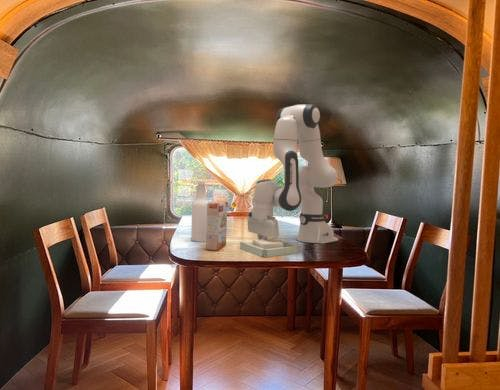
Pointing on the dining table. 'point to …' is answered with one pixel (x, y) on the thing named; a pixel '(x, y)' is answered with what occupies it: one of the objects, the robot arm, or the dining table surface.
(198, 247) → the dining table surface
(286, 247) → the u-shaped frame
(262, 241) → the carton
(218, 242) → the cracker box
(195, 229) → the alcohol
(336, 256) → the dining table surface
